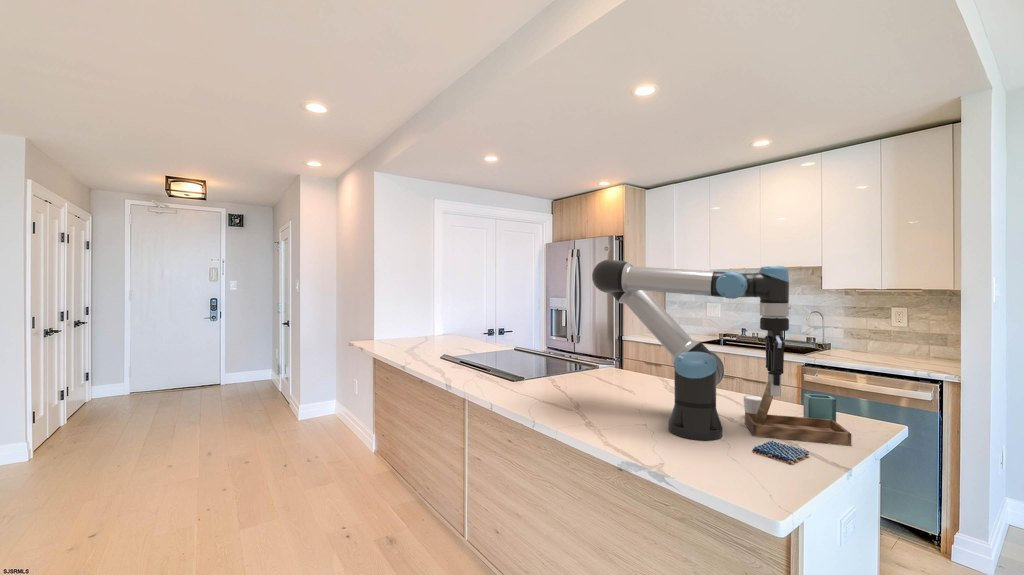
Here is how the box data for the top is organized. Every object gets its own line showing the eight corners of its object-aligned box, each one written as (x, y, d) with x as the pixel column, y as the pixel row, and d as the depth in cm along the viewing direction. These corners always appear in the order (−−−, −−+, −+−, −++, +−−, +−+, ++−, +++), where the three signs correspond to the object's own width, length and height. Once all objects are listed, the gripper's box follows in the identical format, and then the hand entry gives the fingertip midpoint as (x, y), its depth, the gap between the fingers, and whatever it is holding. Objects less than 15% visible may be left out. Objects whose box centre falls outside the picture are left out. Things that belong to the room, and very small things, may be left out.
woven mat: (812, 458, 114) (812, 450, 114) (792, 467, 108) (792, 459, 108) (770, 446, 122) (770, 439, 122) (750, 454, 117) (750, 446, 116)
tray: (753, 436, 129) (753, 425, 129) (745, 422, 142) (745, 412, 142) (851, 445, 121) (851, 433, 121) (832, 430, 134) (832, 419, 134)
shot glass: (765, 417, 148) (765, 396, 148) (768, 422, 142) (768, 401, 142) (742, 414, 151) (742, 394, 151) (744, 420, 145) (744, 398, 145)
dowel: (754, 425, 134) (756, 365, 133) (753, 422, 136) (755, 364, 136) (781, 428, 131) (783, 367, 131) (779, 425, 134) (781, 366, 134)
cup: (809, 426, 138) (809, 397, 138) (803, 421, 143) (803, 393, 143) (836, 428, 136) (836, 399, 136) (829, 423, 141) (829, 395, 141)
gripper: (796, 319, 124) (796, 402, 124) (781, 315, 139) (781, 389, 139) (766, 318, 127) (766, 400, 127) (755, 315, 142) (755, 388, 142)
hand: (774, 394), depth 133 cm, fingers closed on dowel, 2 cm apart
